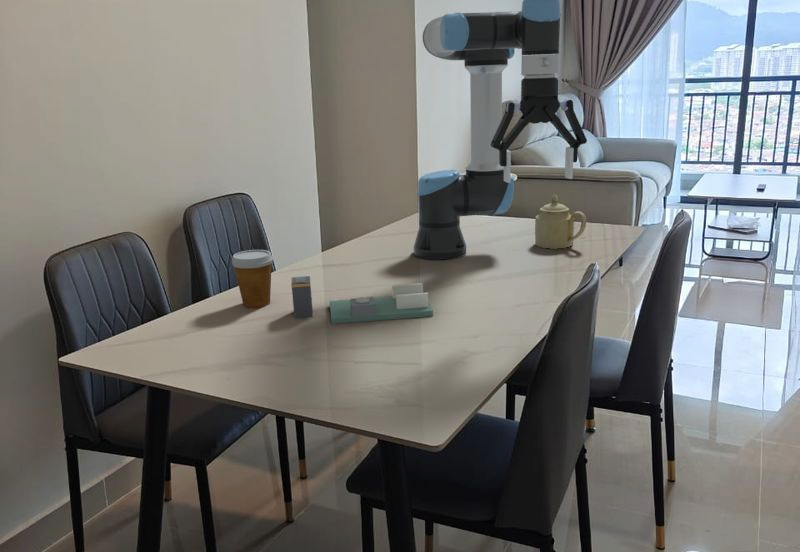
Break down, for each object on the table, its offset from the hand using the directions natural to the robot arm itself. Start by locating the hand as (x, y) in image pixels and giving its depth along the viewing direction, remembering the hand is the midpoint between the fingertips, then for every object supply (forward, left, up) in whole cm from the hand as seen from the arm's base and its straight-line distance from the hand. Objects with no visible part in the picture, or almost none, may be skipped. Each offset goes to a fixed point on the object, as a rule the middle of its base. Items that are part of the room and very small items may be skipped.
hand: (538, 180), depth 153 cm
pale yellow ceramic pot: (-49, +23, -28) cm, 61 cm away
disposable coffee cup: (-15, -63, -28) cm, 71 cm away
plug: (-5, -52, -28) cm, 59 cm away
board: (-3, -35, -28) cm, 45 cm away
